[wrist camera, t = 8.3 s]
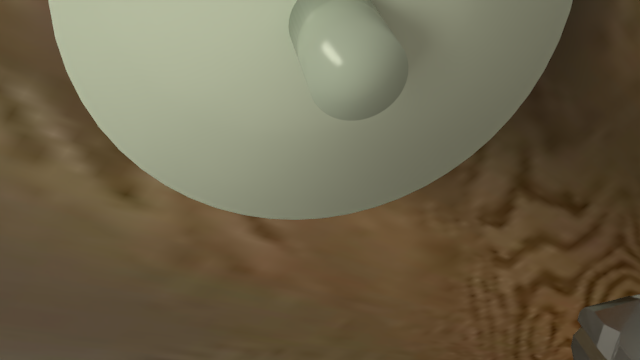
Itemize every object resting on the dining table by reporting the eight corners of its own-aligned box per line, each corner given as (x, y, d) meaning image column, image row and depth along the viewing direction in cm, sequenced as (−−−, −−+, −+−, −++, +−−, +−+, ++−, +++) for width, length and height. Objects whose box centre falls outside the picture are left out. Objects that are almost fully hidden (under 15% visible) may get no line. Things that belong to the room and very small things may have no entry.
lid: (529, 159, 30) (585, 231, 26) (144, 237, 28) (140, 327, 24) (615, -354, 17) (748, -369, 13) (-61, -271, 16) (-138, -260, 12)
